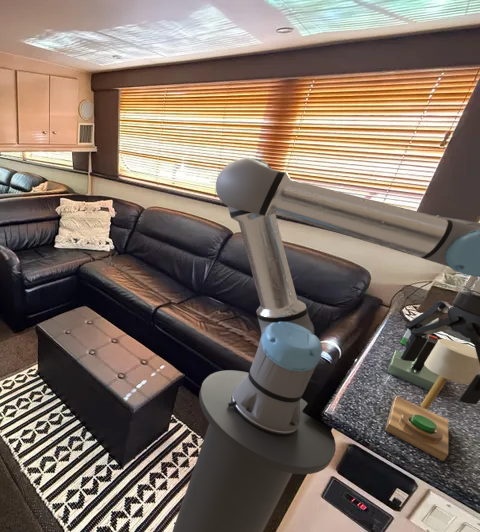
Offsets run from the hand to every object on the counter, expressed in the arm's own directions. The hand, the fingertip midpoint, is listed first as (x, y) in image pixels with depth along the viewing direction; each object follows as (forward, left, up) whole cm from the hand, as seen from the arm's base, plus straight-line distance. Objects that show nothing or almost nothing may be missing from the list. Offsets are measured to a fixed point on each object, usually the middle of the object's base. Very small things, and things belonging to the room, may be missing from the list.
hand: (434, 379), depth 71 cm
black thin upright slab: (+19, +33, -13) cm, 40 cm away
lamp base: (+5, +4, -16) cm, 18 cm away
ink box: (+31, +57, -17) cm, 67 cm away
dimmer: (+19, +33, -16) cm, 41 cm away
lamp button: (+3, 0, -13) cm, 13 cm away
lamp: (+7, +8, -13) cm, 17 cm away
